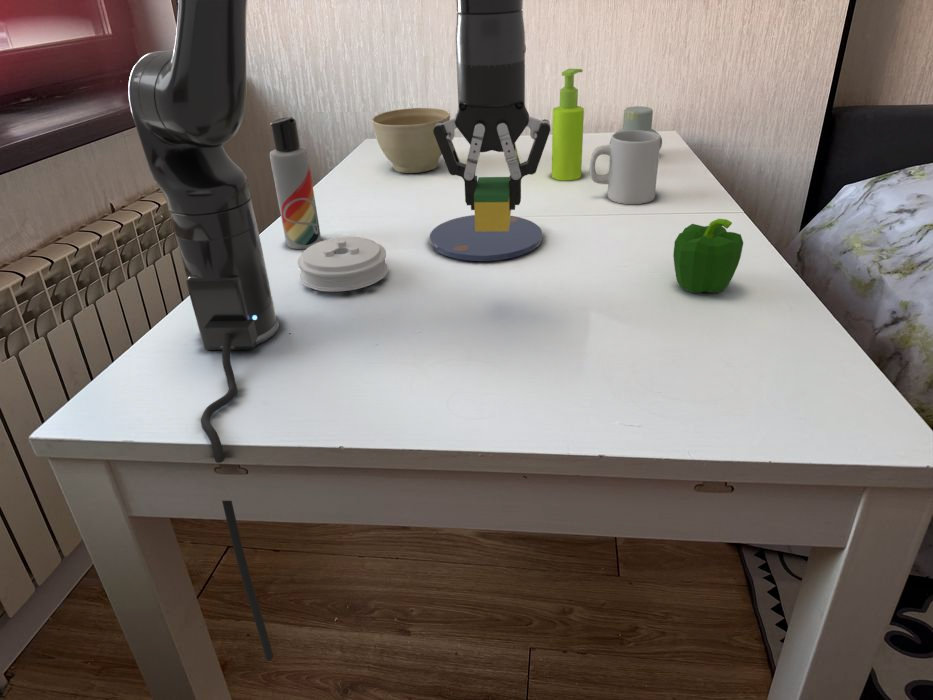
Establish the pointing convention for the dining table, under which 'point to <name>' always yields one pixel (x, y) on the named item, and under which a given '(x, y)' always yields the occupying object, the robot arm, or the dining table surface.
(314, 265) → the lid
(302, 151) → the lotion bottle
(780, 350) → the dining table surface
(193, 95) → the robot arm
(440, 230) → the plate
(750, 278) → the dining table surface
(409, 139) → the planter bowl
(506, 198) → the sponge
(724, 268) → the bell pepper
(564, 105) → the soap dispenser
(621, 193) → the mug
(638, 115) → the air freshener
